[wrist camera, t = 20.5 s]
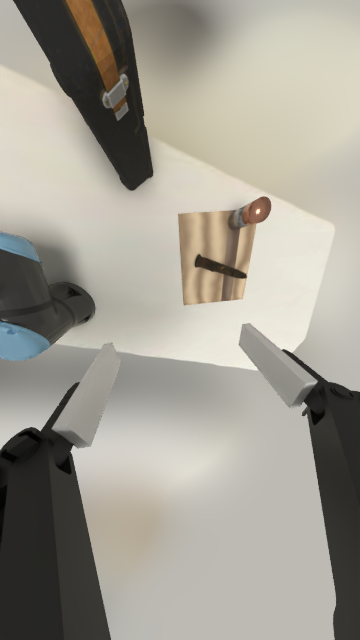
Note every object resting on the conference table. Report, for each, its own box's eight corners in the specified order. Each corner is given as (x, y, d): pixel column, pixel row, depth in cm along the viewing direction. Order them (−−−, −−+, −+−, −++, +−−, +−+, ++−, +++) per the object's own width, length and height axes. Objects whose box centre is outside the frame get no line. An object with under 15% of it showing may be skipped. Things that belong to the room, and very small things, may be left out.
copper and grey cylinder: (226, 230, 39) (249, 223, 29) (228, 212, 37) (253, 197, 27) (240, 229, 39) (268, 221, 29) (243, 211, 37) (273, 195, 27)
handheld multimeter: (157, 175, 32) (142, 16, 10) (131, 197, 34) (68, 101, 12) (110, 75, 25) (-273, -1154, 3) (79, 109, 26) (-329, -555, 5)
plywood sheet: (183, 305, 50) (183, 305, 50) (178, 214, 36) (178, 214, 36) (242, 298, 51) (242, 299, 51) (258, 209, 38) (259, 208, 37)
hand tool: (192, 265, 43) (195, 267, 39) (197, 253, 41) (200, 253, 37) (238, 283, 48) (245, 286, 44) (244, 272, 46) (251, 274, 42)
